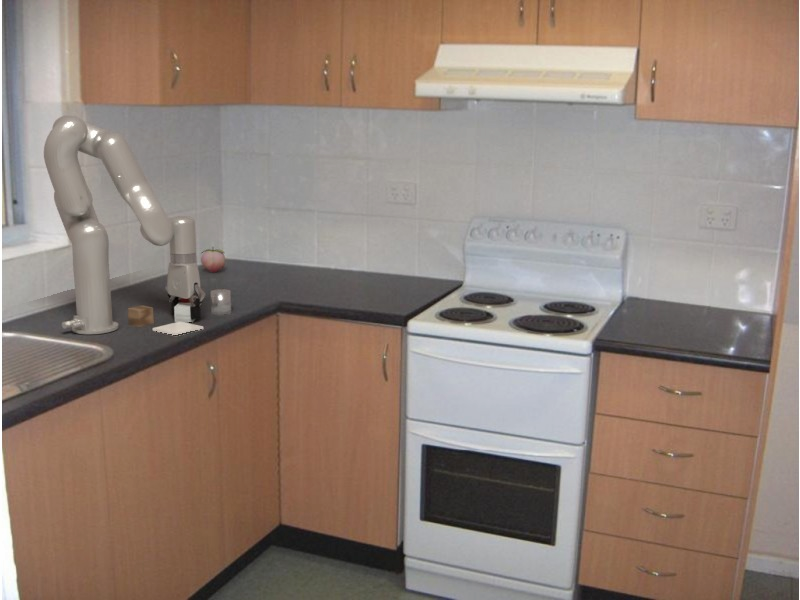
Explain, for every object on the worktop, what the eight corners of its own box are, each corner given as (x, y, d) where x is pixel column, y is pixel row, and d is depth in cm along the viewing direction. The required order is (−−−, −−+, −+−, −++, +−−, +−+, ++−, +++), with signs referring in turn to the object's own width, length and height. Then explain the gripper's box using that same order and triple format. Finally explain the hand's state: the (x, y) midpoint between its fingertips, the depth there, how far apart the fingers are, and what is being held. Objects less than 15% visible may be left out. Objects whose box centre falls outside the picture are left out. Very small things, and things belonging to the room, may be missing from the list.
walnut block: (139, 327, 254) (138, 310, 253) (128, 324, 257) (127, 308, 256) (153, 324, 258) (152, 307, 257) (142, 321, 261) (141, 305, 260)
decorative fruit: (228, 270, 342) (227, 245, 340) (224, 274, 334) (223, 248, 332) (203, 270, 342) (202, 245, 339) (199, 274, 334) (198, 248, 331)
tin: (220, 316, 268) (219, 294, 266) (207, 313, 271) (206, 291, 270) (235, 312, 272) (234, 290, 271) (221, 310, 276) (221, 288, 274)
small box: (193, 322, 259) (192, 306, 258) (174, 322, 259) (173, 306, 258) (197, 318, 265) (197, 302, 264) (178, 318, 265) (177, 302, 264)
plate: (175, 336, 244) (175, 333, 244) (152, 330, 250) (152, 328, 250) (203, 329, 252) (203, 326, 252) (180, 324, 258) (180, 321, 258)
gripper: (154, 257, 260) (156, 314, 264) (193, 263, 250) (195, 323, 254) (174, 254, 266) (176, 310, 270) (213, 260, 256) (215, 318, 260)
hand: (185, 316), depth 262 cm, fingers closed on small box, 7 cm apart
